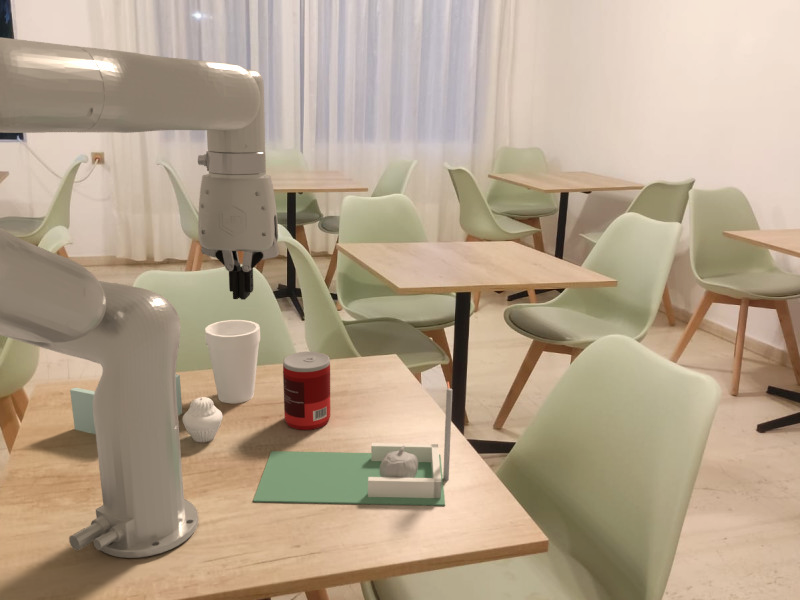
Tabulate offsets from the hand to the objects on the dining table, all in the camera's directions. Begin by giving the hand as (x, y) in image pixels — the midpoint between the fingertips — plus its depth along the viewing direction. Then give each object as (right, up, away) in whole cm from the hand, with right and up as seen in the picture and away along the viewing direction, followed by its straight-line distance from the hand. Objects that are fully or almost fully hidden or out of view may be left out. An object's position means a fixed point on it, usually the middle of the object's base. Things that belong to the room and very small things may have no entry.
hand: (241, 296), depth 103 cm
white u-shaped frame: (+24, -26, +3) cm, 35 cm away
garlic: (+22, -27, +1) cm, 35 cm away
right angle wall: (-23, -21, +19) cm, 37 cm away
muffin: (-9, -23, +14) cm, 28 cm away
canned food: (+7, -21, +21) cm, 30 cm away
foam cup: (-7, -18, +30) cm, 35 cm away
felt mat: (+15, -26, +3) cm, 30 cm away
